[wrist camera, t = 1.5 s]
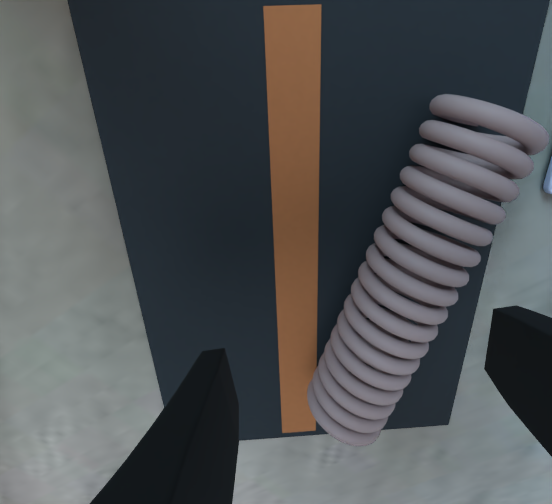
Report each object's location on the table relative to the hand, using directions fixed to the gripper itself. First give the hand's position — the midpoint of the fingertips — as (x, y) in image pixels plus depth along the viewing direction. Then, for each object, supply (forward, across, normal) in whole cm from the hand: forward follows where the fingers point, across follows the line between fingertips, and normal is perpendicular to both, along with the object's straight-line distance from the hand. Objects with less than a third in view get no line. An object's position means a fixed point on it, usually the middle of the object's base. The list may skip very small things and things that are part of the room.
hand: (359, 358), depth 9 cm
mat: (+10, 0, +2) cm, 10 cm away
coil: (+10, -4, +3) cm, 11 cm away
